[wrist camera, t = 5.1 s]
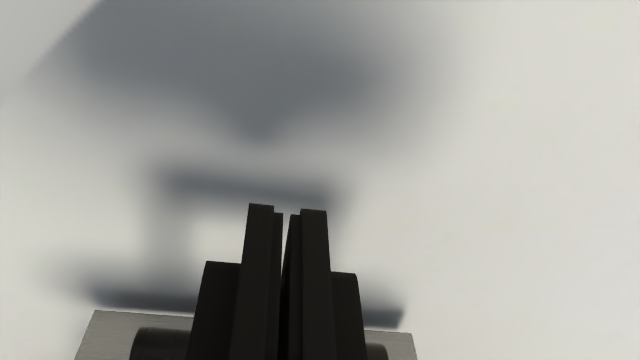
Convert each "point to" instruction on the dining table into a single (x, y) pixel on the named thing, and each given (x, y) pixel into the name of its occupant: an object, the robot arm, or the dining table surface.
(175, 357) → the drawer
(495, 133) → the dining table surface
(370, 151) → the dining table surface
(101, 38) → the dining table surface
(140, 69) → the dining table surface
